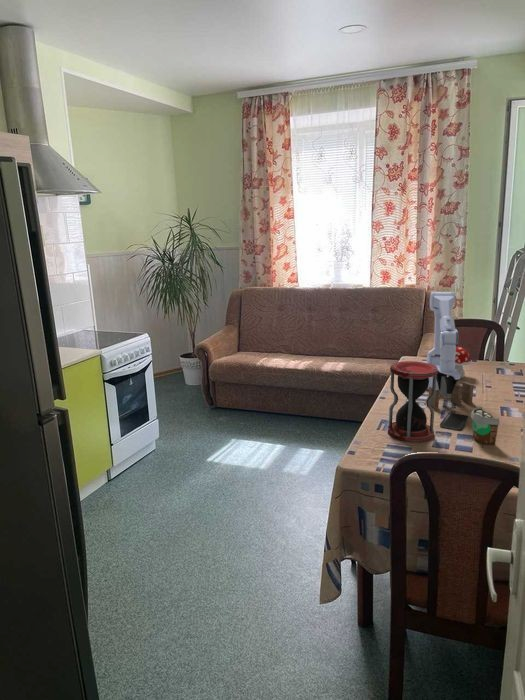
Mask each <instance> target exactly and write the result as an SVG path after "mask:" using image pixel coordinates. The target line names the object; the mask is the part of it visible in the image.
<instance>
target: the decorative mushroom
mask: <svg viewBox="0 0 525 700" xmlns="http://www.w3.org/2000/svg"><path fill="white" fill-rule="evenodd" d="M472 363H473V360H472V359H471V358H470V354H469V352H468V350H466V349H465V348H464V347H461V346H456V354H455V368H454V369H456V372H457V373H458V374H460V379H463V377H464V376H465V374H466V373H465V370H464V367H463V366H467V365H471V364H472Z"/></svg>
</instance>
